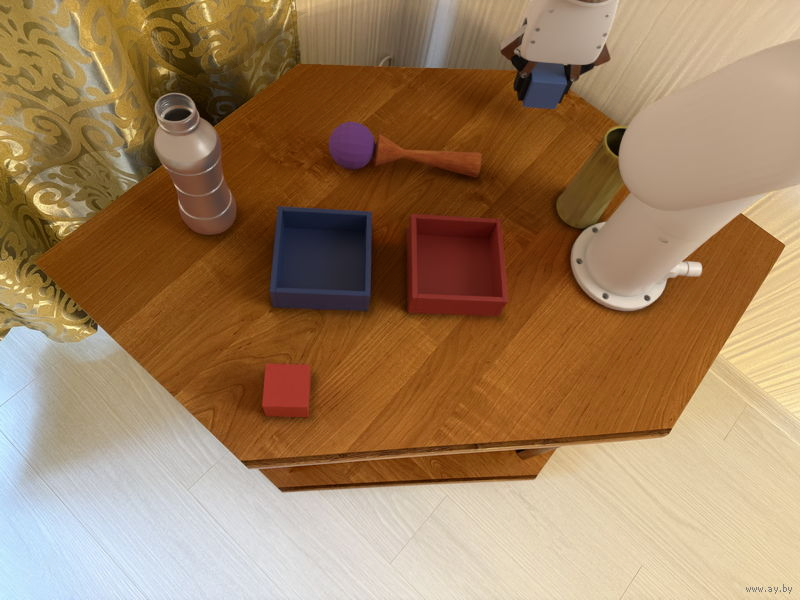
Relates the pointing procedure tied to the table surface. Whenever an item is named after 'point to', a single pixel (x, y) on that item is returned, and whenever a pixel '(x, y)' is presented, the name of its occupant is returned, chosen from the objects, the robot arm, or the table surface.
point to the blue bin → (321, 259)
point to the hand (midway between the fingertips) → (538, 93)
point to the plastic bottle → (193, 165)
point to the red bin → (455, 265)
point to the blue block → (545, 86)
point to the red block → (286, 390)
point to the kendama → (392, 152)
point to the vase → (593, 183)
